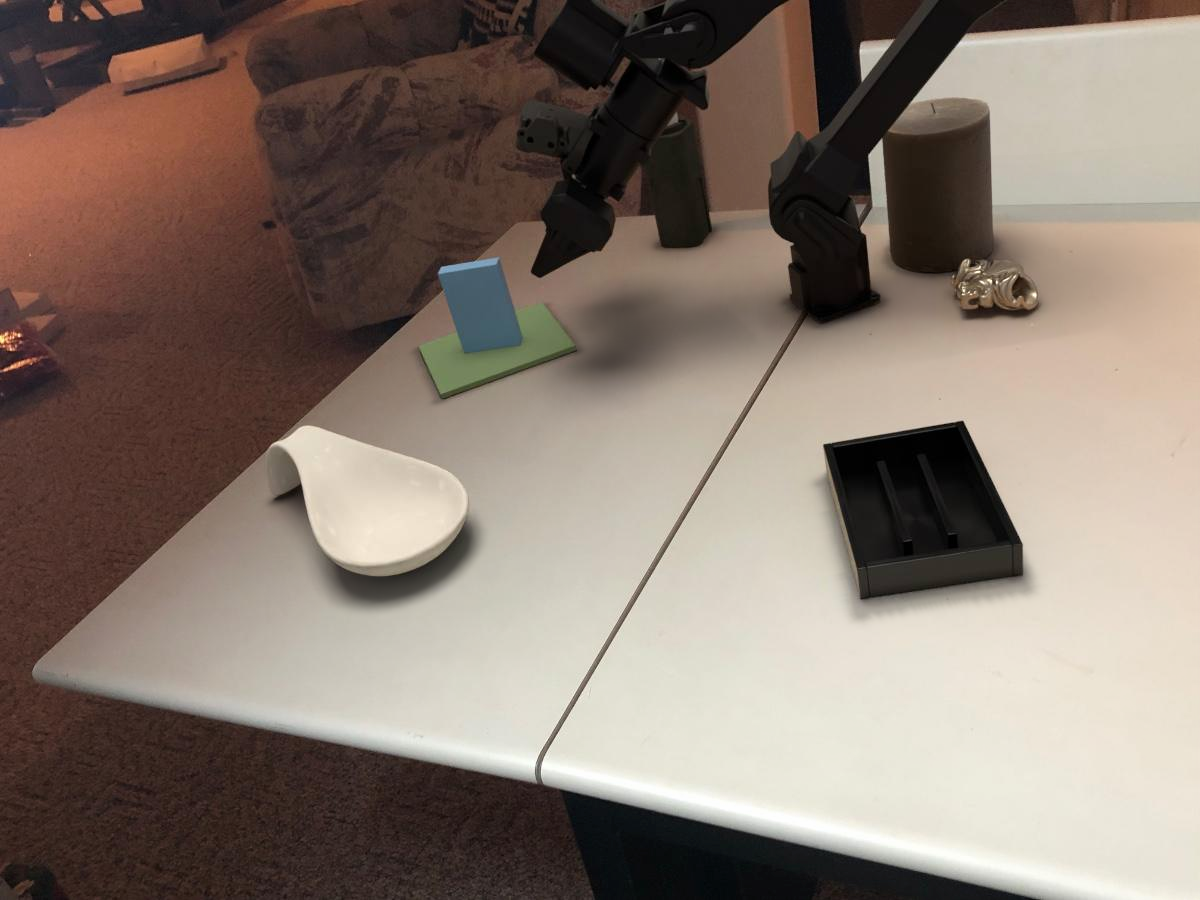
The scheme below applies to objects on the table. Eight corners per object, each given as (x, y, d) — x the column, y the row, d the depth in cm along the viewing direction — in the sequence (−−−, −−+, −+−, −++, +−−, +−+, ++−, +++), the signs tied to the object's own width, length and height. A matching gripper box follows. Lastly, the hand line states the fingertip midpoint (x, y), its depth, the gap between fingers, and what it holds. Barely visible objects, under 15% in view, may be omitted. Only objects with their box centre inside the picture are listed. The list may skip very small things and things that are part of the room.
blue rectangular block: (523, 337, 110) (499, 257, 105) (520, 345, 109) (496, 264, 104) (467, 345, 111) (441, 266, 106) (464, 353, 110) (437, 273, 105)
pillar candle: (930, 283, 102) (921, 128, 94) (871, 252, 110) (858, 107, 102) (1016, 248, 104) (1014, 93, 96) (951, 220, 112) (945, 75, 104)
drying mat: (543, 306, 116) (542, 301, 116) (576, 350, 106) (575, 345, 106) (419, 350, 114) (418, 345, 114) (442, 399, 104) (440, 394, 104)
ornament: (928, 307, 98) (926, 271, 96) (980, 277, 101) (979, 241, 99) (1000, 332, 92) (999, 294, 90) (1053, 299, 95) (1054, 261, 93)
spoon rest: (509, 530, 84) (483, 456, 80) (391, 621, 78) (357, 546, 74) (344, 451, 100) (317, 386, 96) (236, 522, 94) (201, 455, 90)
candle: (674, 227, 126) (631, 5, 112) (715, 227, 124) (675, 0, 110) (657, 247, 122) (610, 20, 109) (699, 247, 120) (656, 15, 106)
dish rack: (827, 482, 81) (822, 443, 79) (965, 459, 79) (963, 420, 77) (861, 610, 69) (857, 569, 67) (1023, 586, 68) (1023, 544, 66)
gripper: (567, 38, 101) (488, 172, 109) (537, 101, 86) (447, 250, 94) (666, 106, 104) (581, 231, 112) (653, 177, 88) (556, 316, 97)
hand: (542, 253), depth 104 cm, fingers open, 9 cm apart
